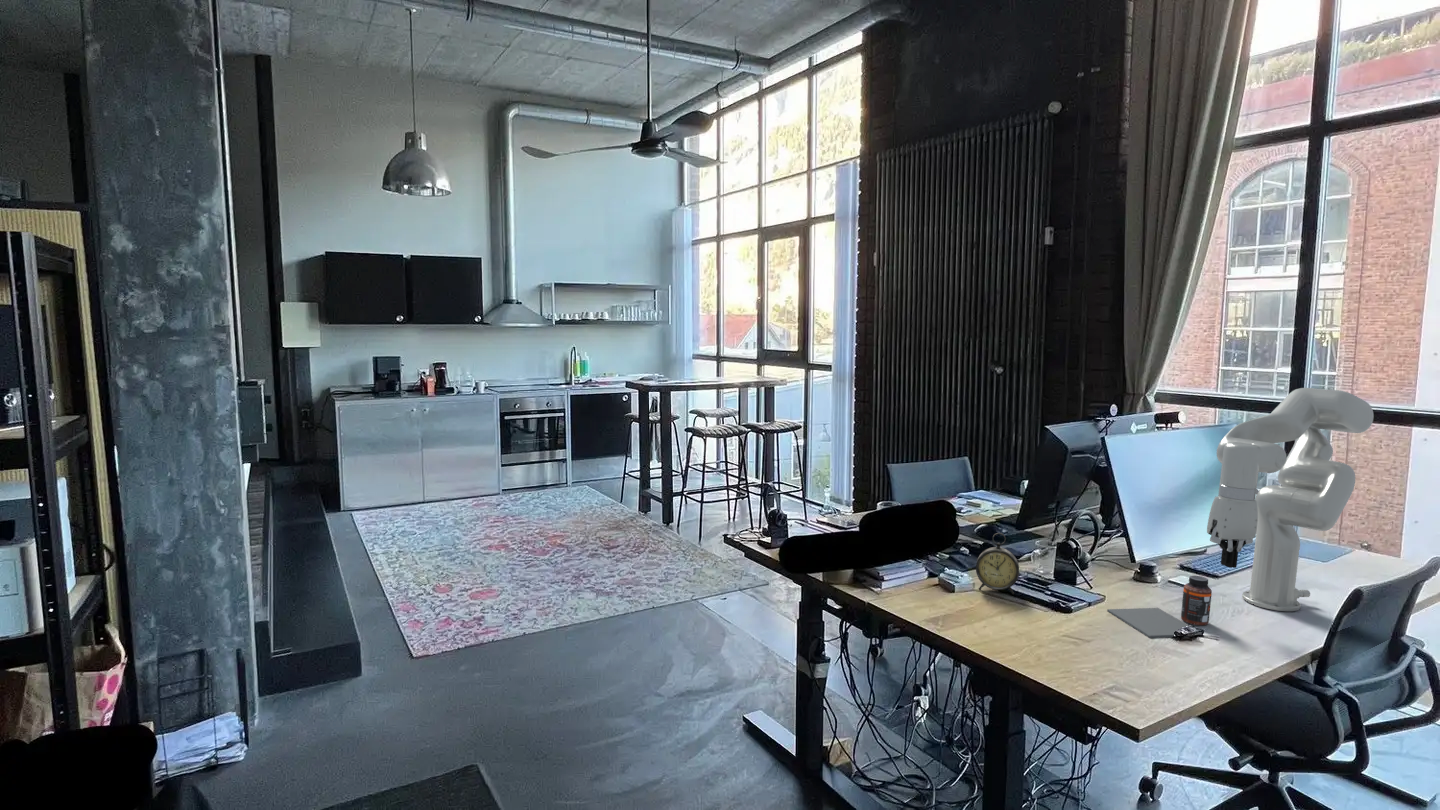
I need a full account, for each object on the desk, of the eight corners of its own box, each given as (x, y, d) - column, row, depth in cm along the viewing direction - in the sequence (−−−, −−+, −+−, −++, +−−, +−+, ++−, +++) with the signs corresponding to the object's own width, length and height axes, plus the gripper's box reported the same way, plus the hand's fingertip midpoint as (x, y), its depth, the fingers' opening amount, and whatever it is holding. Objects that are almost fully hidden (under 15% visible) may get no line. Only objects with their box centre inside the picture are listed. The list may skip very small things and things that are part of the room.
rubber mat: (1157, 609, 199) (1157, 607, 199) (1203, 635, 183) (1203, 633, 183) (1107, 611, 197) (1107, 609, 197) (1149, 637, 181) (1149, 635, 181)
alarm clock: (974, 590, 210) (977, 533, 207) (975, 584, 214) (979, 527, 212) (1017, 597, 205) (1021, 538, 203) (1017, 590, 210) (1021, 532, 208)
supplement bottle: (1212, 627, 188) (1217, 583, 186) (1185, 625, 189) (1190, 580, 187) (1202, 618, 194) (1207, 574, 192) (1176, 615, 195) (1181, 572, 193)
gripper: (1252, 490, 193) (1243, 561, 195) (1197, 489, 191) (1189, 561, 193) (1277, 497, 185) (1268, 571, 187) (1220, 496, 183) (1212, 571, 185)
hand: (1228, 565), depth 190 cm, fingers closed
